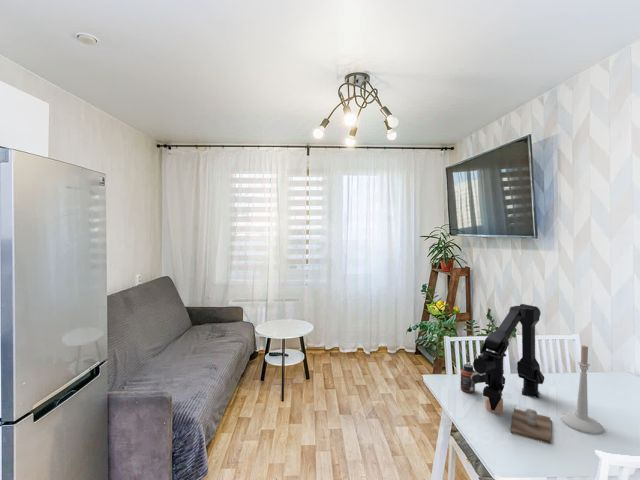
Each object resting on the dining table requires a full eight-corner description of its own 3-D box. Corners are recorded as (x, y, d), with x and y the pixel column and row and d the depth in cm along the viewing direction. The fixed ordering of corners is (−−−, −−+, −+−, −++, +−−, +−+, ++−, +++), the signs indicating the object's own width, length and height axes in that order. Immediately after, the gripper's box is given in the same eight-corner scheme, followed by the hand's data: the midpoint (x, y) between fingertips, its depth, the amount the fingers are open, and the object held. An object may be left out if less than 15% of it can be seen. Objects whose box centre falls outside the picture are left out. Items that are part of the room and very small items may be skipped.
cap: (486, 403, 148) (486, 393, 148) (503, 408, 145) (503, 397, 144) (484, 410, 143) (484, 399, 143) (501, 414, 139) (502, 403, 139)
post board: (514, 410, 142) (514, 397, 142) (549, 419, 136) (550, 405, 136) (510, 432, 127) (510, 417, 127) (550, 443, 121) (551, 427, 121)
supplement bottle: (476, 393, 157) (476, 368, 156) (461, 392, 158) (462, 367, 157) (473, 387, 163) (473, 363, 162) (459, 386, 164) (459, 362, 163)
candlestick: (568, 430, 129) (572, 348, 128) (555, 413, 141) (558, 338, 140) (610, 436, 125) (614, 352, 124) (593, 418, 138) (596, 341, 137)
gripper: (477, 357, 155) (476, 392, 156) (469, 371, 139) (468, 410, 140) (505, 362, 149) (504, 399, 150) (501, 378, 134) (500, 419, 134)
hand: (493, 406), depth 144 cm, fingers closed on cap, 6 cm apart
